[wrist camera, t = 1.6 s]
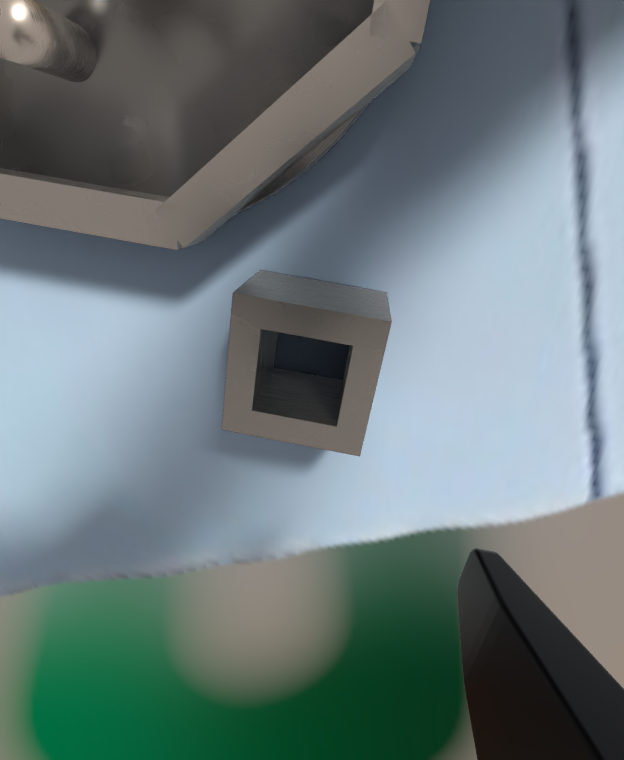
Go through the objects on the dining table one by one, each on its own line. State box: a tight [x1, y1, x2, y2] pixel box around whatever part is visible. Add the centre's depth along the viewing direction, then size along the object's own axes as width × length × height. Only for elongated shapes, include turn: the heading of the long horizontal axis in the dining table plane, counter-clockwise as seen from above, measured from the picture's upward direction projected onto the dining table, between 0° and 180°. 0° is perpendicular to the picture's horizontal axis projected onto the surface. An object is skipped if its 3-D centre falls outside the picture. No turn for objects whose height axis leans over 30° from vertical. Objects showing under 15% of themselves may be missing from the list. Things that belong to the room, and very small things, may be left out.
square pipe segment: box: [222, 270, 392, 456], centre depth 17 cm, size 5×5×4 cm
